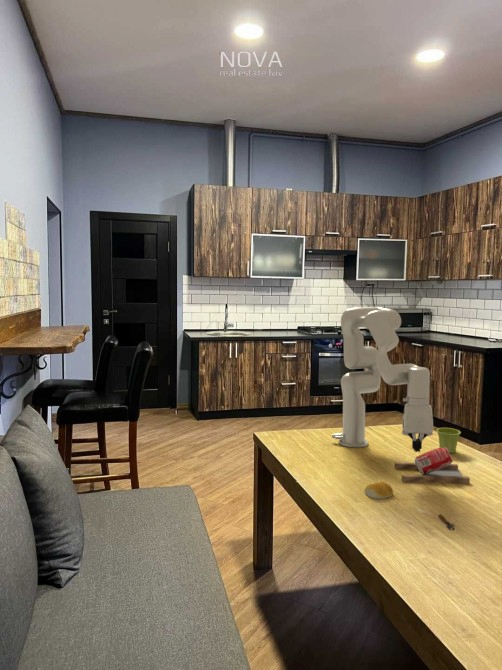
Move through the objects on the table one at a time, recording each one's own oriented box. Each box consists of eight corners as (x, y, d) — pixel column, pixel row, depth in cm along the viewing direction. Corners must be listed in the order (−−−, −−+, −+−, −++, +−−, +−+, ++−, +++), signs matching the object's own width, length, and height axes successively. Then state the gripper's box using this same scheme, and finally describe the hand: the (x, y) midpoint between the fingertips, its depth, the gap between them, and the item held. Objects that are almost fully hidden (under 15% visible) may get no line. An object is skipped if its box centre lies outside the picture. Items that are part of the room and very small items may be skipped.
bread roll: (397, 495, 170) (397, 484, 170) (378, 502, 165) (379, 490, 165) (378, 487, 177) (378, 476, 177) (360, 493, 172) (360, 481, 172)
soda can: (418, 472, 191) (449, 461, 190) (423, 478, 184) (455, 466, 183) (411, 454, 191) (442, 443, 190) (416, 460, 184) (448, 448, 183)
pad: (427, 480, 182) (427, 480, 182) (419, 469, 193) (419, 469, 193) (467, 481, 181) (467, 480, 181) (457, 470, 192) (458, 469, 192)
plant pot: (463, 450, 214) (464, 430, 213) (454, 456, 207) (455, 435, 206) (441, 446, 221) (442, 426, 220) (432, 451, 214) (432, 431, 213)
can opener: (437, 517, 154) (438, 513, 154) (445, 517, 154) (445, 513, 154) (449, 532, 145) (449, 528, 145) (457, 532, 145) (457, 528, 145)
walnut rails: (402, 482, 181) (402, 476, 181) (394, 467, 195) (394, 462, 195) (469, 483, 179) (469, 478, 179) (456, 469, 193) (456, 463, 193)
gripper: (399, 403, 182) (397, 453, 184) (442, 404, 181) (440, 454, 182) (394, 398, 189) (393, 447, 191) (436, 399, 188) (435, 447, 190)
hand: (416, 450), depth 187 cm, fingers closed
